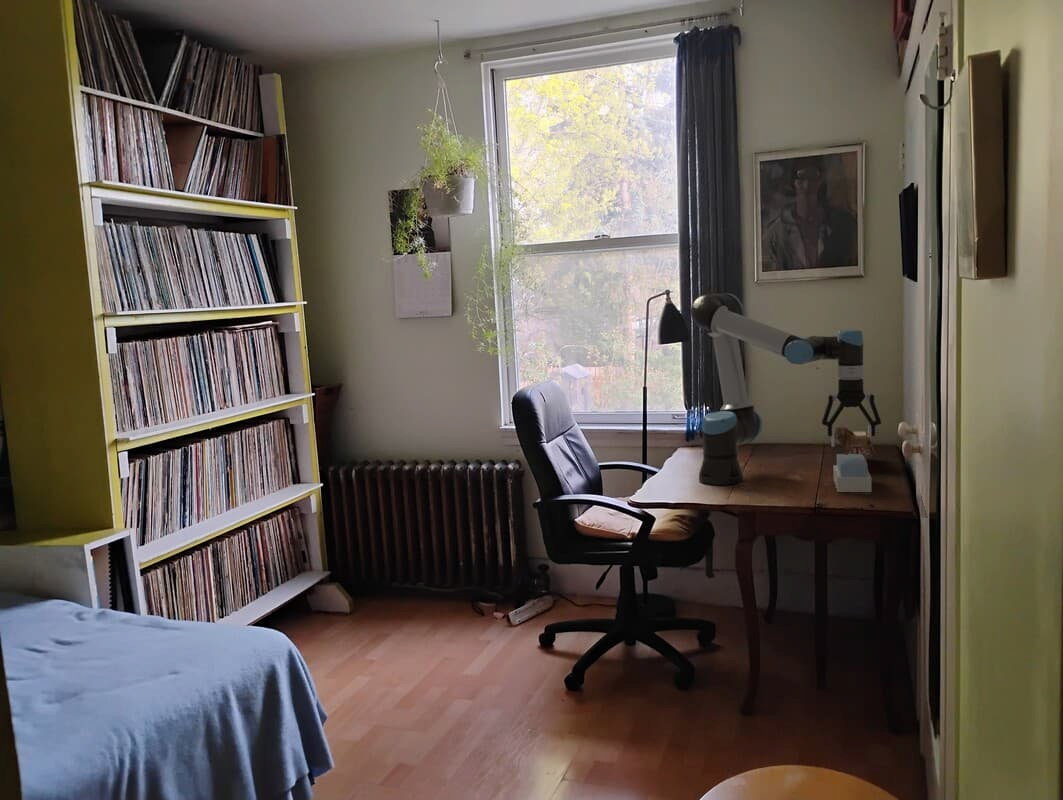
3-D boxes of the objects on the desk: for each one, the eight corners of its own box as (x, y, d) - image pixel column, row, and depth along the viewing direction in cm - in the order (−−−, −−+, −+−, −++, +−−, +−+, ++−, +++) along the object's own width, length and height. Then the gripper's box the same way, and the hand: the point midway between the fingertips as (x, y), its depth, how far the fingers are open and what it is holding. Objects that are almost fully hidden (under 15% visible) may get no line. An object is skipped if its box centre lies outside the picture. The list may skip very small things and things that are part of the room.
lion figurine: (831, 454, 277) (831, 427, 275) (838, 451, 280) (838, 424, 279) (876, 458, 266) (876, 430, 265) (883, 455, 270) (882, 428, 269)
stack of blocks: (847, 459, 316) (846, 426, 315) (865, 459, 314) (865, 426, 312) (847, 471, 296) (847, 437, 295) (867, 472, 294) (866, 437, 293)
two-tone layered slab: (837, 492, 268) (837, 465, 267) (833, 479, 286) (833, 453, 284) (871, 493, 266) (871, 465, 264) (865, 479, 283) (865, 453, 282)
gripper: (813, 380, 271) (814, 448, 273) (891, 378, 264) (891, 448, 267) (812, 377, 278) (813, 444, 281) (887, 375, 272) (887, 443, 274)
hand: (851, 446), depth 274 cm, fingers closed on lion figurine, 10 cm apart
